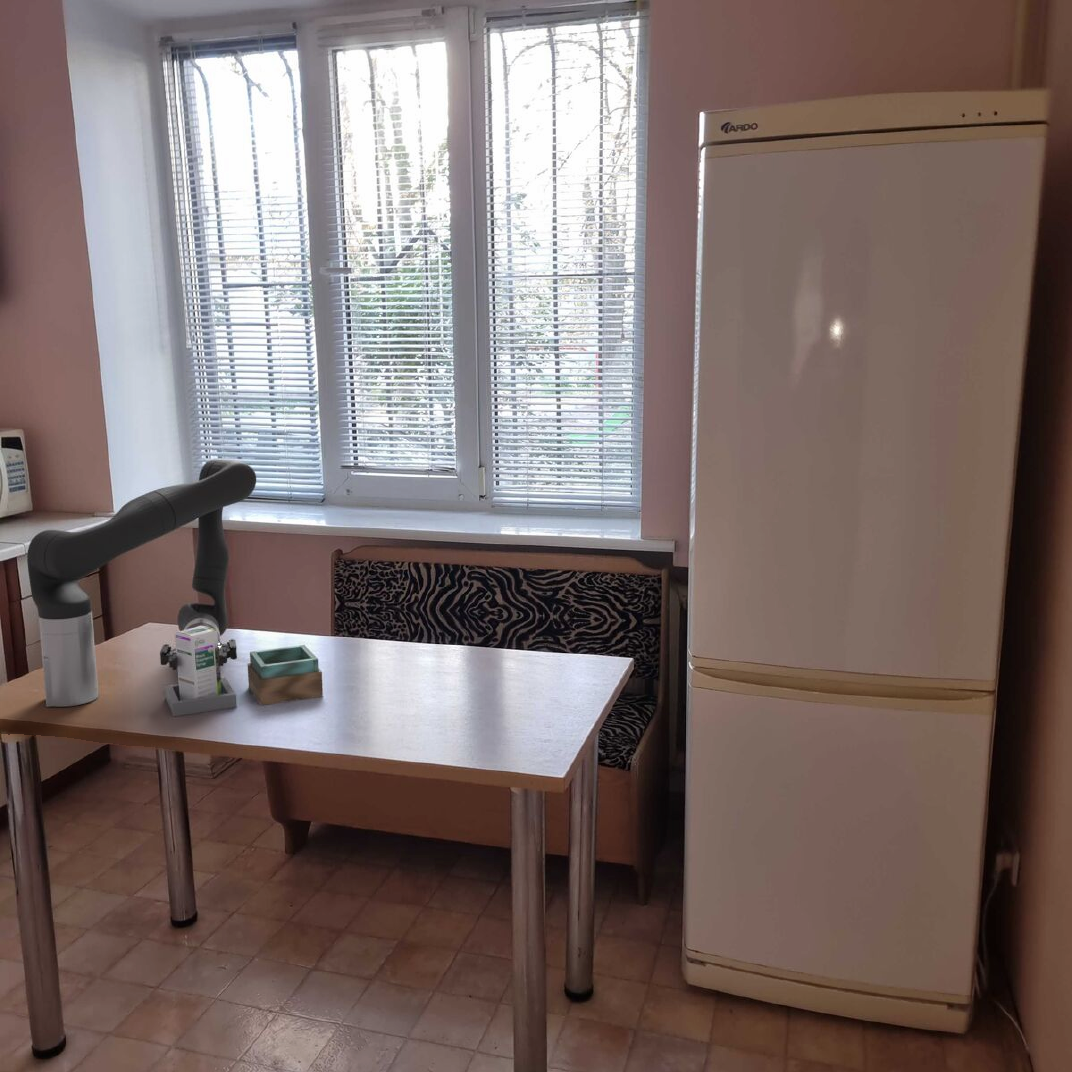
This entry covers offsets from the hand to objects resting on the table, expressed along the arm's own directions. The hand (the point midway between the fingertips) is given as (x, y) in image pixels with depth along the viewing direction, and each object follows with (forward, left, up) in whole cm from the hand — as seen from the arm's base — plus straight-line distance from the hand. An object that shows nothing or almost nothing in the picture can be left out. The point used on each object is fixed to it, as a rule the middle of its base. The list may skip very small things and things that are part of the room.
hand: (198, 662), depth 183 cm
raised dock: (+16, +1, -8) cm, 18 cm away
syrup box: (0, +2, -9) cm, 9 cm away
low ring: (0, +2, -8) cm, 9 cm away
